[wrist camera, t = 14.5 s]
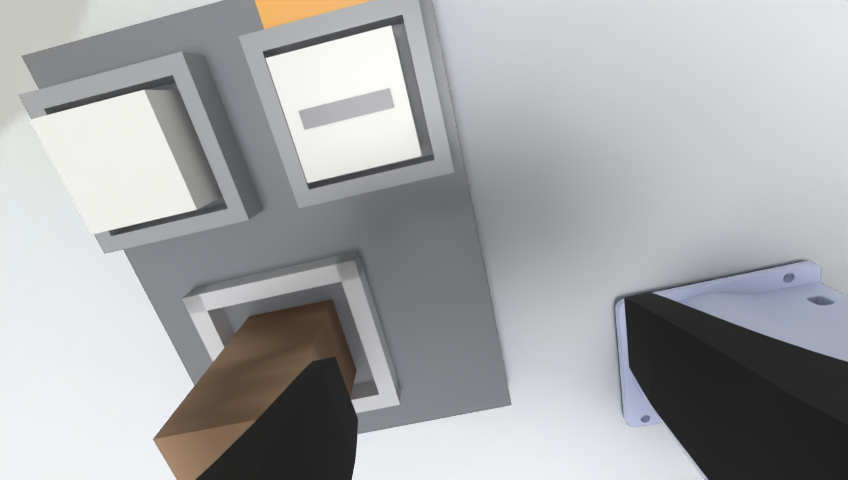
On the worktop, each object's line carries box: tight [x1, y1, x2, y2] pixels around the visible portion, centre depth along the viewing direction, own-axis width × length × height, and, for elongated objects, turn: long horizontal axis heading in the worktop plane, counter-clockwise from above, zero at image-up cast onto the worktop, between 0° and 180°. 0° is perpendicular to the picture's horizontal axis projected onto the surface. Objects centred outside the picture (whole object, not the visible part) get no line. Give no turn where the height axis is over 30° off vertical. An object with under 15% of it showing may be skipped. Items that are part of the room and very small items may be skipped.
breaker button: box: [266, 25, 422, 183], centre depth 14 cm, size 4×4×3 cm
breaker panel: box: [19, 0, 511, 434], centre depth 17 cm, size 15×20×4 cm
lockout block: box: [153, 299, 357, 480], centre depth 16 cm, size 4×4×7 cm
